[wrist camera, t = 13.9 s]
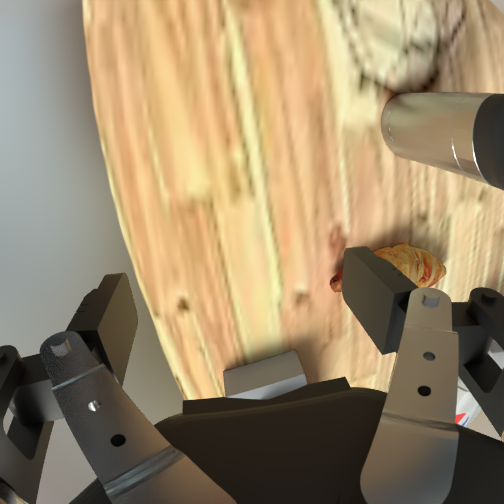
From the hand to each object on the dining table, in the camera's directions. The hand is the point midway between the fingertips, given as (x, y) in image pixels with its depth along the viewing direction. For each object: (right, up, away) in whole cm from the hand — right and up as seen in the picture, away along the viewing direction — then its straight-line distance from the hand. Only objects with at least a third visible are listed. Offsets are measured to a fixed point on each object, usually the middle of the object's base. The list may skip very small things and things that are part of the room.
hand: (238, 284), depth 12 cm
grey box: (+3, -21, +40) cm, 46 cm away
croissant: (+21, -2, +35) cm, 41 cm away
